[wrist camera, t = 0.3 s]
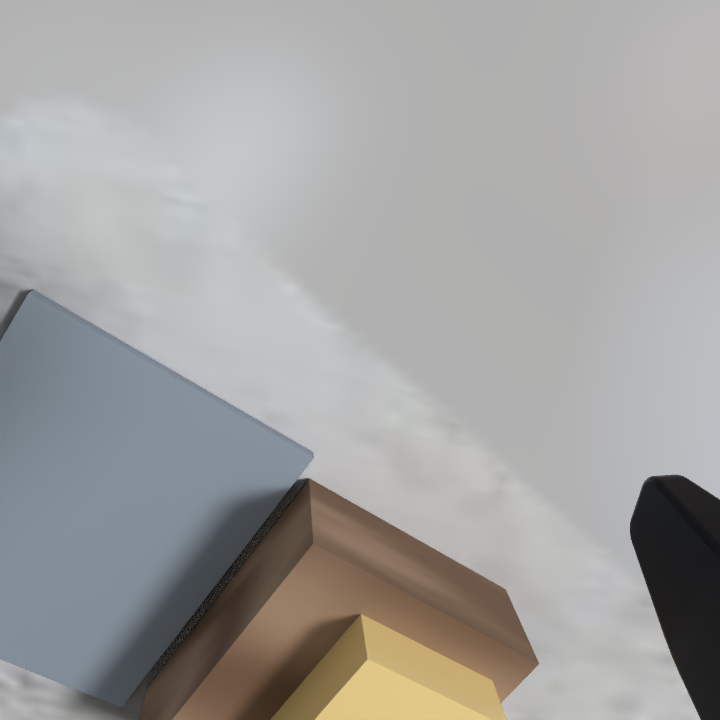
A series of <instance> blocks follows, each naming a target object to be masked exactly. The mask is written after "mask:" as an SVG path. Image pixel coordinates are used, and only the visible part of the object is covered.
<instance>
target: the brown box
mask: <svg viewBox="0 0 720 720" xmlns="http://www.w3.org/2000/svg"><path fill="white" fill-rule="evenodd" d="M360 614H362V615H364V616H366V617H368V618H370V619H372V620H374V621H376V622H378V623H380V624H382V625H384V626H386V627H388V628H390V629H392V630H394V631H396V632H398V633H400V634H402V635H404V636H406V637H408V638H410V639H412V640H414V641H416V642H417V643H419V644H421V645H423V646H425V647H427V648H429V649H431V650H433V651H435V652H437V653H439V654H441V655H443V656H445V657H447V658H449V659H451V660H453V661H455V662H457V663H459V664H461V665H463V666H465V667H467V668H469V669H471V670H473V671H475V672H476V673H478V674H480V675H482V676H484V677H486V678H488V679H490V680H492V681H493V683H494V686H495V689H496V692H497V694H498V697H499V700H500V703H502V701H503V700H504V699H505V698H506V697H507V696H508V695H509V694H510V693H511V692H512V691H513V690H514V689H515V688H516V687H517V686H518V685H519V684H520V683H521V682H522V681H523V680H524V679H525V678H526V677H527V676H528V675H529V674H530V673H531V672H532V671H533V670H534V669H535V667H536V666H537V665H538V664H539V663H538V660H537V658H536V656H535V654H534V652H533V649H532V647H531V645H530V643H529V640H528V638H527V636H526V634H525V632H524V629H523V627H522V625H521V623H520V620H519V618H518V616H517V614H516V612H515V609H514V607H513V605H512V603H511V600H510V598H509V596H508V594H507V592H506V590H505V589H504V588H502V587H500V586H498V585H497V584H495V583H493V582H491V581H489V580H488V579H486V578H484V577H482V576H481V575H479V574H477V573H475V572H474V571H472V570H470V569H468V568H466V567H465V566H463V565H461V564H459V563H458V562H456V561H454V560H452V559H451V558H449V557H447V556H445V555H443V554H442V553H440V552H438V551H436V550H435V549H433V548H431V547H429V546H428V545H426V544H424V543H422V542H421V541H419V540H417V539H415V538H413V537H412V536H410V535H408V534H406V533H405V532H403V531H401V530H399V529H398V528H396V527H394V526H392V525H390V524H389V523H387V522H385V521H383V520H382V519H380V518H378V517H376V516H375V515H373V514H371V513H369V512H367V511H366V510H364V509H362V508H360V507H359V506H357V505H355V504H353V503H352V502H350V501H348V500H346V499H344V498H343V497H341V496H339V495H337V494H336V493H334V492H332V491H330V490H329V489H327V488H325V487H323V486H322V485H320V484H318V483H316V482H314V481H313V480H311V479H308V481H307V482H306V483H305V484H304V486H303V487H302V488H301V490H300V491H299V492H298V493H297V495H296V496H295V497H294V499H293V500H292V501H291V502H290V504H289V505H288V506H287V508H286V509H285V510H284V512H283V513H282V514H281V515H280V517H279V518H278V519H277V521H276V522H275V523H274V524H273V526H272V527H271V528H270V530H269V531H268V532H267V533H266V535H265V536H264V537H263V539H262V540H261V541H260V542H259V544H258V545H257V546H256V548H255V549H254V550H253V552H252V553H251V554H250V555H249V557H248V558H247V559H246V561H245V562H244V563H243V564H242V566H241V567H240V568H239V570H238V571H237V572H236V573H235V575H234V576H233V577H232V579H231V580H230V581H229V583H228V584H227V585H226V586H225V588H224V589H223V590H222V592H221V593H220V594H219V595H218V597H217V598H216V599H215V601H214V602H213V603H212V604H211V606H210V607H209V608H208V610H207V611H206V612H205V613H204V615H203V616H202V617H201V619H200V620H199V621H198V623H197V624H196V625H195V626H194V628H193V629H192V630H191V632H190V633H189V634H188V635H187V637H186V638H185V639H184V641H183V642H182V643H181V644H180V646H179V647H178V648H177V650H176V651H175V652H174V653H173V655H172V656H171V657H170V659H169V660H168V661H167V663H166V664H165V665H164V666H163V668H162V669H161V670H160V672H159V673H158V674H157V675H156V677H155V678H154V679H153V681H152V682H151V683H150V684H149V686H148V687H147V688H146V692H145V696H144V700H143V705H142V709H141V713H140V718H139V720H271V718H272V717H273V716H274V715H275V714H276V713H277V711H278V710H279V709H280V708H281V707H282V705H283V704H284V703H285V702H286V701H287V700H288V698H289V697H290V696H291V695H292V694H293V693H294V691H295V690H296V689H297V688H298V687H299V686H300V684H301V683H302V682H303V681H304V680H305V679H306V677H307V676H308V675H309V674H310V673H311V672H312V670H313V669H314V668H315V667H316V666H317V665H318V663H319V662H320V661H321V660H322V659H323V658H324V656H325V655H326V654H327V653H328V652H329V651H330V649H331V648H332V647H333V646H334V645H335V643H336V642H337V641H338V640H339V639H340V638H341V636H342V635H343V634H344V633H345V632H346V631H347V629H348V628H349V627H350V626H351V625H352V624H353V622H354V621H355V620H356V619H357V618H358V617H359V615H360Z"/></svg>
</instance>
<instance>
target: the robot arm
mask: <svg viewBox="0 0 720 720" xmlns="http://www.w3.org/2000/svg"><path fill="white" fill-rule="evenodd" d="M630 535H631V540H632V543H633V546H634V549H635V551H636V555H637V558H638V561H639V564H640V567H641V570H642V573H643V575H644V578H645V581H646V584H647V587H648V590H649V593H650V596H651V599H652V602H653V605H654V607H655V610H656V613H657V616H658V619H659V622H660V625H661V628H662V631H663V634H664V637H665V639H666V642H667V645H668V647H669V650H670V653H671V655H672V657H673V660H674V662H675V664H676V667H677V669H678V671H679V674H680V676H681V678H682V680H683V682H684V684H685V687H686V689H687V691H688V693H689V695H690V697H691V700H692V702H693V704H694V706H695V708H696V710H697V712H698V715H699V717H700V719H701V720H720V499H718V498H717V497H715V496H713V495H712V494H710V493H709V492H707V491H705V490H704V489H703V488H701V487H699V486H698V485H696V484H695V483H693V482H692V481H690V480H689V479H687V478H685V477H683V476H680V475H665V476H652V477H649V478H648V479H647V480H646V481H645V482H644V484H643V486H642V489H641V492H640V495H639V498H638V501H637V504H636V506H635V510H634V512H633V515H632V518H631V522H630Z"/></svg>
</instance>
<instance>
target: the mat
mask: <svg viewBox="0 0 720 720" xmlns="http://www.w3.org/2000/svg"><path fill="white" fill-rule="evenodd" d="M313 458H314V455H313V452H312V451H310V450H308V449H307V448H305V447H303V446H301V445H300V444H298V443H296V442H294V441H293V440H291V439H289V438H288V437H286V436H284V435H282V434H281V433H279V432H277V431H276V430H274V429H272V428H270V427H269V426H267V425H265V424H263V423H262V422H260V421H258V420H257V419H255V418H253V417H251V416H250V415H248V414H246V413H245V412H243V411H241V410H239V409H238V408H236V407H234V406H232V405H231V404H229V403H227V402H226V401H224V400H222V399H220V398H219V397H217V396H215V395H214V394H212V393H210V392H208V391H207V390H205V389H203V388H201V387H200V386H198V385H196V384H195V383H193V382H191V381H189V380H188V379H186V378H184V377H183V376H181V375H179V374H177V373H176V372H174V371H172V370H170V369H169V368H167V367H165V366H164V365H162V364H160V363H158V362H157V361H155V360H153V359H152V358H150V357H148V356H146V355H145V354H143V353H141V352H139V351H138V350H136V349H134V348H133V347H131V346H129V345H127V344H126V343H124V342H122V341H121V340H119V339H117V338H115V337H114V336H112V335H110V334H108V333H107V332H105V331H103V330H102V329H100V328H98V327H96V326H95V325H93V324H91V323H90V322H88V321H86V320H84V319H83V318H81V317H79V316H77V315H76V314H74V313H72V312H71V311H69V310H67V309H65V308H64V307H62V306H60V305H59V304H57V303H55V302H53V301H52V300H50V299H48V298H46V297H45V296H43V295H41V294H40V293H38V292H36V291H34V290H32V291H30V292H29V293H28V295H27V296H26V298H25V300H24V302H23V303H22V305H21V307H20V308H19V310H18V312H17V313H16V315H15V317H14V319H13V320H12V322H11V324H10V325H9V327H8V329H7V330H6V332H5V334H4V336H3V337H2V339H1V341H0V659H2V660H4V661H7V662H9V663H12V664H14V665H16V666H19V667H21V668H24V669H26V670H29V671H31V672H34V673H36V674H39V675H41V676H44V677H46V678H49V679H51V680H54V681H56V682H58V683H61V684H63V685H66V686H68V687H71V688H73V689H76V690H78V691H81V692H83V693H86V694H88V695H91V696H93V697H95V698H98V699H100V700H103V701H105V702H108V703H110V704H113V705H115V706H118V707H120V708H122V706H123V705H124V704H125V702H126V701H127V700H128V699H129V697H130V696H131V695H132V693H133V692H134V691H135V689H136V688H137V687H138V686H139V684H140V683H141V682H142V680H143V679H144V678H145V676H146V675H147V674H148V673H149V671H150V670H151V669H152V667H153V666H154V665H155V663H156V662H157V661H158V660H159V658H160V657H161V656H162V654H163V653H164V652H165V650H166V649H167V648H168V647H169V645H170V644H171V643H172V641H173V640H174V639H175V637H176V636H177V635H178V634H179V632H180V631H181V630H182V628H183V627H184V626H185V624H186V623H187V622H188V621H189V619H190V618H191V617H192V615H193V614H194V613H195V611H196V610H197V609H198V608H199V606H200V605H201V604H202V602H203V601H204V600H205V598H206V597H207V596H208V595H209V593H210V592H211V591H212V589H213V588H214V587H215V585H216V584H217V583H218V582H219V580H220V579H221V578H222V576H223V575H224V574H225V572H226V571H227V570H228V569H229V567H230V566H231V565H232V563H233V562H234V561H235V559H236V558H237V557H238V556H239V554H240V553H241V552H242V550H243V549H244V548H245V546H246V545H247V544H248V543H249V541H250V540H251V539H252V537H253V536H254V535H255V533H256V532H257V531H258V530H259V528H260V527H261V526H262V524H263V523H264V522H265V520H266V519H267V518H268V517H269V515H270V514H271V513H272V511H273V510H274V509H275V507H276V506H277V505H278V504H279V502H280V501H281V500H282V498H283V497H284V496H285V494H286V493H287V492H288V491H289V489H290V488H291V487H292V485H293V484H294V483H295V481H296V480H297V479H298V478H299V476H300V475H301V474H302V472H303V471H304V470H305V468H306V467H307V466H308V465H309V463H310V462H311V461H312V459H313Z"/></svg>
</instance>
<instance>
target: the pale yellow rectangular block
mask: <svg viewBox="0 0 720 720" xmlns="http://www.w3.org/2000/svg"><path fill="white" fill-rule="evenodd" d="M271 720H506V717H505V714H504V711H503V708H502V706H501V703H500V700H499V697H498V694H497V692H496V689H495V686H494V683H493V681H492V680H490V679H488V678H486V677H484V676H482V675H480V674H478V673H476V672H475V671H473V670H471V669H469V668H467V667H465V666H463V665H461V664H459V663H457V662H455V661H453V660H451V659H449V658H447V657H445V656H443V655H441V654H439V653H437V652H435V651H433V650H431V649H429V648H427V647H425V646H423V645H421V644H419V643H417V642H416V641H414V640H412V639H410V638H408V637H406V636H404V635H402V634H400V633H398V632H396V631H394V630H392V629H390V628H388V627H386V626H384V625H382V624H380V623H378V622H376V621H374V620H372V619H370V618H368V617H366V616H364V615H362V614H360V615H359V617H358V618H357V619H356V620H355V621H354V622H353V624H352V625H351V626H350V627H349V628H348V629H347V631H346V632H345V633H344V634H343V635H342V636H341V638H340V639H339V640H338V641H337V642H336V643H335V645H334V646H333V647H332V648H331V649H330V651H329V652H328V653H327V654H326V655H325V656H324V658H323V659H322V660H321V661H320V662H319V663H318V665H317V666H316V667H315V668H314V669H313V670H312V672H311V673H310V674H309V675H308V676H307V677H306V679H305V680H304V681H303V682H302V683H301V684H300V686H299V687H298V688H297V689H296V690H295V691H294V693H293V694H292V695H291V696H290V697H289V698H288V700H287V701H286V702H285V703H284V704H283V705H282V707H281V708H280V709H279V710H278V711H277V713H276V714H275V715H274V716H273V717H272V718H271Z"/></svg>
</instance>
